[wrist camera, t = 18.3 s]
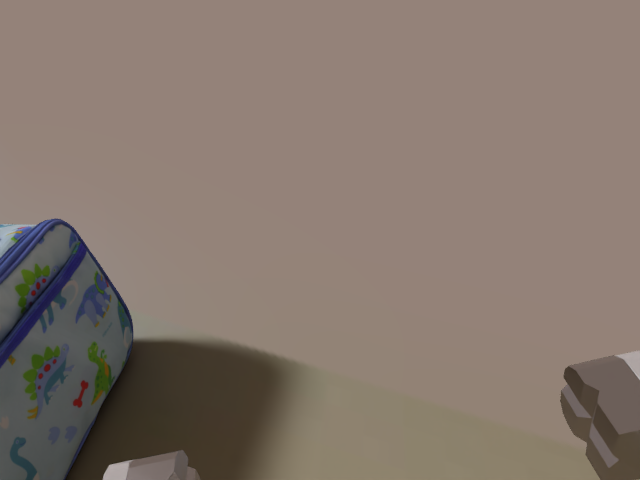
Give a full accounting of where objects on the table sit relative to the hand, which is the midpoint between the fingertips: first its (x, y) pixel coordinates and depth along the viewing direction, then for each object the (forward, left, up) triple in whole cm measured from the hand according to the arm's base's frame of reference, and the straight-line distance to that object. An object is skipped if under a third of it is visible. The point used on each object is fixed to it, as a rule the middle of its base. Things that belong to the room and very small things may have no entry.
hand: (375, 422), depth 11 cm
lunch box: (+4, +41, -32) cm, 53 cm away
